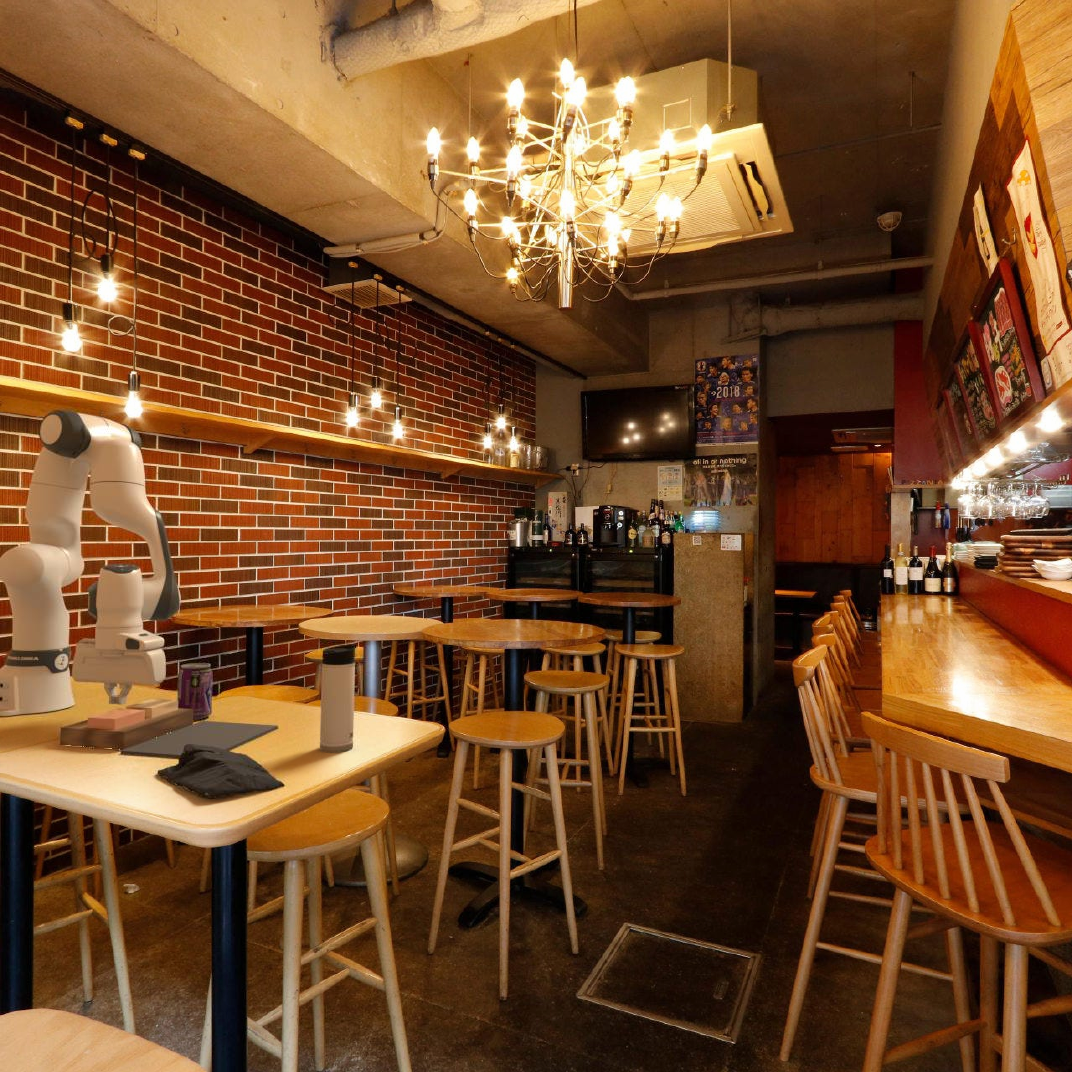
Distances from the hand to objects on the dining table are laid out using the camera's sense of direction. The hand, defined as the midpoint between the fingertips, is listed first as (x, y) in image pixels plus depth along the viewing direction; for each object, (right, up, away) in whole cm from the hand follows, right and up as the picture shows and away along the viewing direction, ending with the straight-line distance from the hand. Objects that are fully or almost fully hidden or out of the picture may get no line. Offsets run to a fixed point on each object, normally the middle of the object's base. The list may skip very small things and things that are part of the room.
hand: (117, 703), depth 151 cm
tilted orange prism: (+7, -1, -12) cm, 14 cm away
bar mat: (+23, -5, -10) cm, 26 cm away
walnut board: (+7, -5, -7) cm, 10 cm away
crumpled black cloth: (+37, -5, -33) cm, 50 cm away
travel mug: (+51, -6, -14) cm, 53 cm away
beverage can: (+12, -5, +9) cm, 16 cm away
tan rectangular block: (+9, -1, -2) cm, 9 cm away
